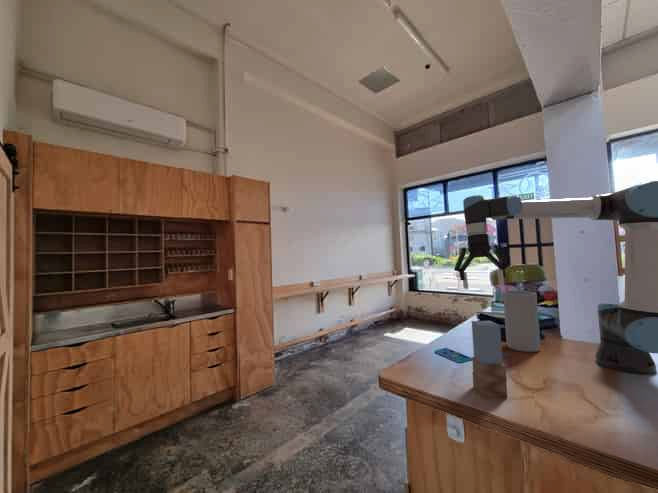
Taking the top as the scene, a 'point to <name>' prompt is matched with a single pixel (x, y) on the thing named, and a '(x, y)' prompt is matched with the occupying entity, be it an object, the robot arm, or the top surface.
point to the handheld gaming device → (453, 355)
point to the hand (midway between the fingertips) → (483, 287)
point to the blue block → (487, 342)
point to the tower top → (489, 371)
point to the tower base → (490, 388)
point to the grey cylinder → (521, 320)
